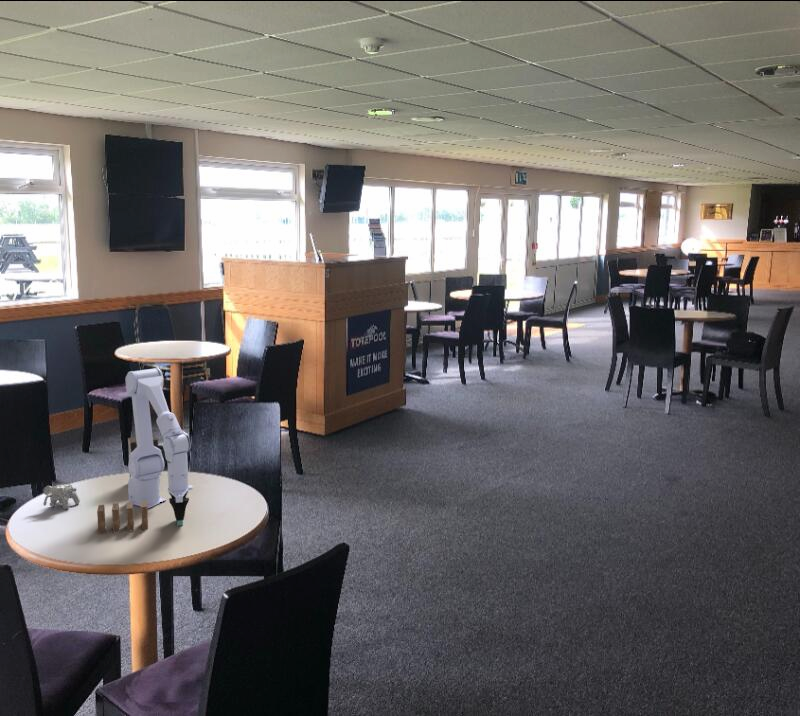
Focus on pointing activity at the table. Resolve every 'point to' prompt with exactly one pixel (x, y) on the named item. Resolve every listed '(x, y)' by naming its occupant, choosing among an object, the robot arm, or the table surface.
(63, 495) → the gray elephant figurine
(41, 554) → the table surface
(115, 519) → the domino
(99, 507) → the domino
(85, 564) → the table surface
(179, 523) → the teal domino
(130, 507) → the domino
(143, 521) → the domino
